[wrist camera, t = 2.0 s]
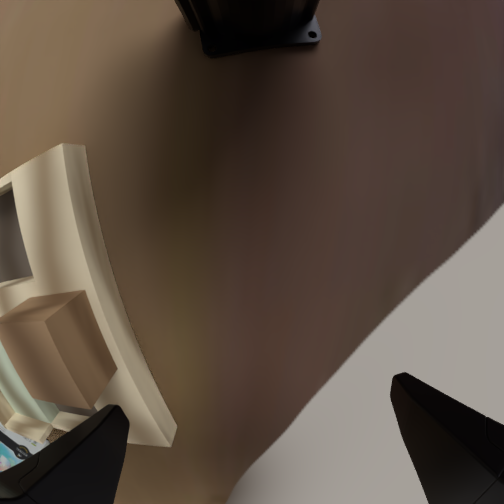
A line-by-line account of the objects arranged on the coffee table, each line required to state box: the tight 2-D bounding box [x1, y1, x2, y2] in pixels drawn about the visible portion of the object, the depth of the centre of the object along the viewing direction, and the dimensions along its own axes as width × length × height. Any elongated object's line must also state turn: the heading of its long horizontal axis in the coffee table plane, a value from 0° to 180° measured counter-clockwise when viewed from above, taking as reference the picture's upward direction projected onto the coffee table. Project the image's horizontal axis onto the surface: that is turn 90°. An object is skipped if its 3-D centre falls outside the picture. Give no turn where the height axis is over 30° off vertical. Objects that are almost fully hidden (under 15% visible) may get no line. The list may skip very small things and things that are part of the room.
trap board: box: [0, 143, 177, 447], centre depth 15 cm, size 21×22×5 cm
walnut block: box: [0, 290, 118, 409], centre depth 13 cm, size 6×6×4 cm
